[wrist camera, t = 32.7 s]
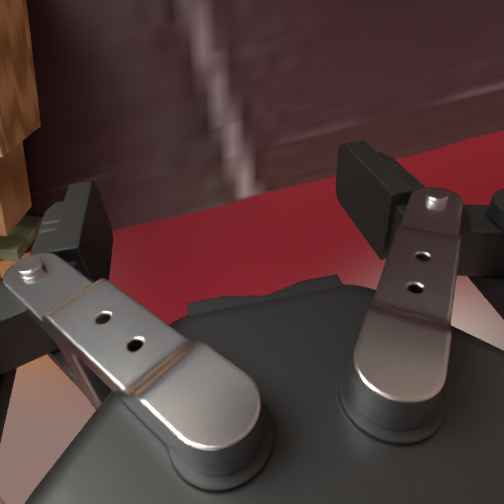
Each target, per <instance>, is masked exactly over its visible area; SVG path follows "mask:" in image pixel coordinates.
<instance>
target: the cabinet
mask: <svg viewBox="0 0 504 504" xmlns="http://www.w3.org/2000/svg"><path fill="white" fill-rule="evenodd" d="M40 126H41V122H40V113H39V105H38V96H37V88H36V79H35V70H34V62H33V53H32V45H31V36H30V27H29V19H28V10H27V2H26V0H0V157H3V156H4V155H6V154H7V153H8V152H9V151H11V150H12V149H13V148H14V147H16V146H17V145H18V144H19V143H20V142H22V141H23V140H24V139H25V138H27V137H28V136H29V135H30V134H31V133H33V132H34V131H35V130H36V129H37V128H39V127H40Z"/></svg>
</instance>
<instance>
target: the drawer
mask: <svg viewBox="0 0 504 504" xmlns="http://www.w3.org/2000/svg"><path fill="white" fill-rule="evenodd" d="M31 207H32V204H31V197H30V190H29V183H28V176H27V169H26V162H25V155H24V148H23V141H22V142H20V143H19V144H18V145H17V146H16V147H14V148H13V149H12V150H11V151H9V152H8V153H7V154H6V155H4V156H3V157H0V260H12V261H19V260H20V259H21V257H22V256H23V255H24V253H25V252H26V250H27V249H28V248H29V246H30V245H31V243H32V242H33V240H34V239H35V238H36V236H37V233H39V232H38V230H39V228H40V225H42V224H41V222H42V219H43V217H37V216H27V215H25V214H26V213H27V211H28V210H29V209H30V208H31ZM3 284H4V282H3V278H1V276H0V286H1V285H3Z"/></svg>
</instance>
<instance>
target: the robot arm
mask: <svg viewBox="0 0 504 504" xmlns="http://www.w3.org/2000/svg"><path fill="white" fill-rule="evenodd" d="M336 194H337V198H338V201H339V202H340V204H341V206H342V207H343V208H344V210H345V211H346V212H347V214H348V215H349V217H350V218H351V219H352V221H353V222H354V223H355V225H356V226H357V227H358V229H359V230H360V232H361V233H362V234H363V236H364V237H365V238H366V240H367V241H368V243H369V244H370V245H371V247H372V248H373V250H374V251H375V252H376V254H377V255H378V256H379V258H380V259H381V260H382V259H387V260H386V263H385V266H384V269H383V272H382V275H381V278H380V281H379V284H378V287H377V290H374V289H370V288H367V287H362V286H356V285H343V284H342V282H341V281H340V279H339V277H338V275H337V274H336V275H331V276H326V277H321V278H315V279H310V280H305V281H301V282H298V283H296V284H293V285H291V286H289V287H286V288H284V289H281V290H279V291H276V292H274V293H271V294H269V295H264V296H222V297H217V298H212V299H207V300H201V301H196V302H191V303H187V307H188V315H186V316H184V317H182V318H180V319H178V320H176V321H174V322H173V323H171V324H170V325H168V324H166V323H165V322H164V321H162V320H161V319H159V318H158V317H157V316H155V315H154V314H153V313H151V312H150V311H149V310H147V309H146V308H145V307H143V306H142V305H140V304H139V303H138V302H136V301H135V300H134V299H132V298H131V297H130V296H128V295H127V294H126V293H124V292H123V291H121V290H120V289H118V288H117V287H116V286H115V285H113V284H112V283H111V282H109V274H110V264H111V255H112V246H113V234H112V228H111V224H110V221H109V218H108V215H107V212H106V209H105V206H104V203H103V201H102V198H101V195H100V192H99V189H98V186H97V184H96V183H95V181H90V182H83V183H77V184H70V185H69V186H68V189H67V193H66V196H65V199H64V201H62V202H56V203H54V204H53V205H52V206H51V207H50V208H49V209H48V210H47V211H46V212H45V214H44V217H43V219H42V222H41V224H42V225H40V228H39V230H38V232H39V233H37V236H36V239H35V242H34V244H33V247H32V250H31V253H30V256H28V257H26V258H24V259H21V260H20V261H18V262H16V263H15V264H14V265H12V266H11V267H10V268H9V269H8V270H7V271H6V273H5V275H4V277H3V282H4V284H3V285H1V286H0V442H1V437H2V433H3V428H4V423H5V419H6V415H7V410H8V406H9V401H10V397H11V392H12V388H13V383H14V379H15V374H16V369H17V367H19V366H22V365H24V364H26V363H28V362H30V361H33V360H35V359H37V358H39V357H42V356H44V355H46V354H47V355H48V356H49V357H50V358H51V359H52V360H53V361H54V363H55V364H56V365H57V366H58V367H59V368H60V369H61V370H62V371H63V372H64V373H65V374H66V375H67V376H68V377H69V378H70V380H71V381H72V382H73V383H74V384H75V385H76V386H77V387H78V388H79V389H80V390H81V391H82V392H83V394H84V395H85V396H86V397H87V398H88V400H89V401H90V403H91V404H92V406H93V407H94V408H95V409H96V412H95V413H94V414H93V415H92V417H91V418H90V419H89V420H88V422H87V423H86V424H85V426H84V427H83V428H82V429H81V431H80V432H79V433H78V434H77V436H76V437H75V438H74V440H73V441H72V442H71V443H70V445H69V446H68V447H67V449H66V450H65V451H64V453H63V454H62V455H61V456H60V458H59V459H58V460H57V462H56V463H55V464H54V465H53V467H52V468H51V469H50V470H49V472H48V473H47V474H46V475H45V477H44V478H43V479H42V481H41V482H40V483H39V484H38V486H37V487H36V488H35V490H34V491H33V492H32V494H31V495H30V497H29V498H28V499H27V501H26V502H25V504H504V351H503V350H501V349H499V348H497V347H495V346H493V345H491V344H489V343H487V342H484V341H482V340H480V339H478V338H476V337H474V336H472V335H470V334H468V333H466V332H464V331H462V330H460V329H457V328H455V327H453V326H451V316H452V308H453V300H454V293H455V285H456V278H457V275H460V276H468V277H469V279H470V280H471V281H472V282H473V284H474V285H475V286H476V287H477V288H478V290H479V291H480V292H481V293H482V294H483V296H484V297H485V298H486V299H487V300H488V301H489V303H490V304H491V305H492V306H493V307H494V308H495V310H496V311H497V312H498V313H499V314H500V316H501V317H502V318H503V319H504V189H502V190H499V191H497V192H495V193H494V195H493V197H492V200H491V203H490V205H464V204H463V200H462V199H461V197H460V196H459V195H457V194H456V193H454V192H452V191H449V190H446V189H442V188H436V187H424V185H422V184H421V183H420V182H419V181H418V180H417V179H416V178H414V177H413V176H412V175H411V174H410V173H407V170H406V169H405V168H403V167H401V165H400V164H399V163H398V162H397V161H396V160H395V159H394V158H392V157H390V156H388V155H385V154H383V153H381V152H376V151H375V150H374V149H373V148H372V147H371V146H370V145H368V144H367V143H366V142H365V141H364V140H361V141H354V142H348V143H342V144H341V145H340V146H339V150H338V162H337V175H336ZM0 504H5V503H4V501H3V500H2V499H1V498H0Z"/></svg>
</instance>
